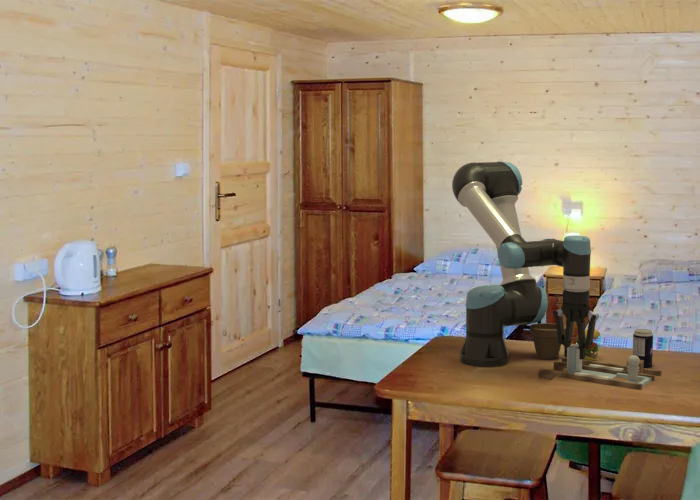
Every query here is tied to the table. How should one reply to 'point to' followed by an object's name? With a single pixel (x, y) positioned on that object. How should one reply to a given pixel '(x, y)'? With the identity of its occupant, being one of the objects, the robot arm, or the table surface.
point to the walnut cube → (640, 366)
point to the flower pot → (545, 340)
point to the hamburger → (591, 347)
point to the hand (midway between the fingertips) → (574, 369)
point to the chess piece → (633, 368)
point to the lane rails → (598, 368)
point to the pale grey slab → (573, 369)
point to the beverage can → (643, 346)
